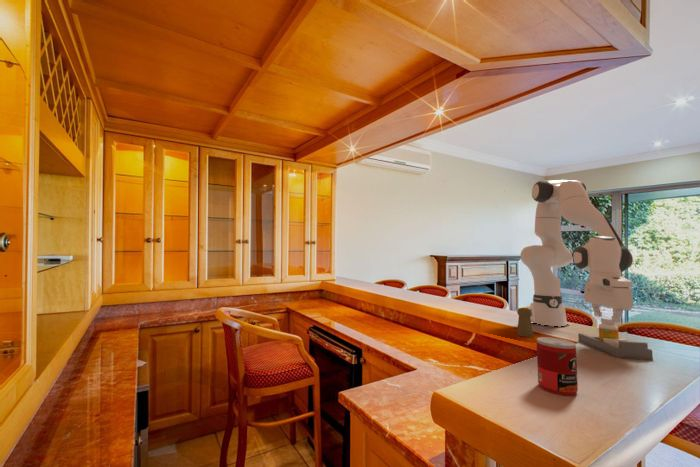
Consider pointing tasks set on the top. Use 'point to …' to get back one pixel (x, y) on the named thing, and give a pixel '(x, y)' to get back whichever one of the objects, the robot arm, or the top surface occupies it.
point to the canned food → (557, 366)
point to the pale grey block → (613, 341)
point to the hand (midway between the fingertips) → (606, 318)
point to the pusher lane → (619, 348)
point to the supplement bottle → (608, 329)
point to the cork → (524, 323)
